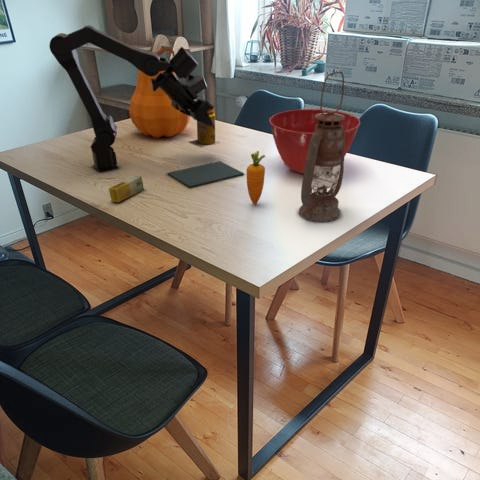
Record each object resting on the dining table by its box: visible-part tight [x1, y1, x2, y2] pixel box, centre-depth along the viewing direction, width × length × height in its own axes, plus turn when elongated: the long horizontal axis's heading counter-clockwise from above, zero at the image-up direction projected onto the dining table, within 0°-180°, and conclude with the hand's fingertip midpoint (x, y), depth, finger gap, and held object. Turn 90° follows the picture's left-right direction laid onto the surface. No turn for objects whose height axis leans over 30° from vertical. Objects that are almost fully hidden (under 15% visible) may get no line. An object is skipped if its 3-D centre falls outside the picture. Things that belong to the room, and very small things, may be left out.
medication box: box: [108, 175, 145, 203], centre depth 142 cm, size 12×3×4 cm, turn 152°
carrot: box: [246, 150, 266, 206], centre depth 134 cm, size 5×5×15 cm
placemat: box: [167, 160, 244, 189], centre depth 157 cm, size 20×14×1 cm
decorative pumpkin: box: [128, 46, 191, 139], centre depth 185 cm, size 24×24×30 cm
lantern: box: [298, 71, 345, 223], centre depth 123 cm, size 11×16×35 cm
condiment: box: [187, 103, 221, 148], centre depth 162 cm, size 7×8×12 cm
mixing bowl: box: [268, 108, 361, 176], centre depth 158 cm, size 28×28×15 cm
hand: (207, 122), depth 162 cm, fingers closed on condiment, 6 cm apart
